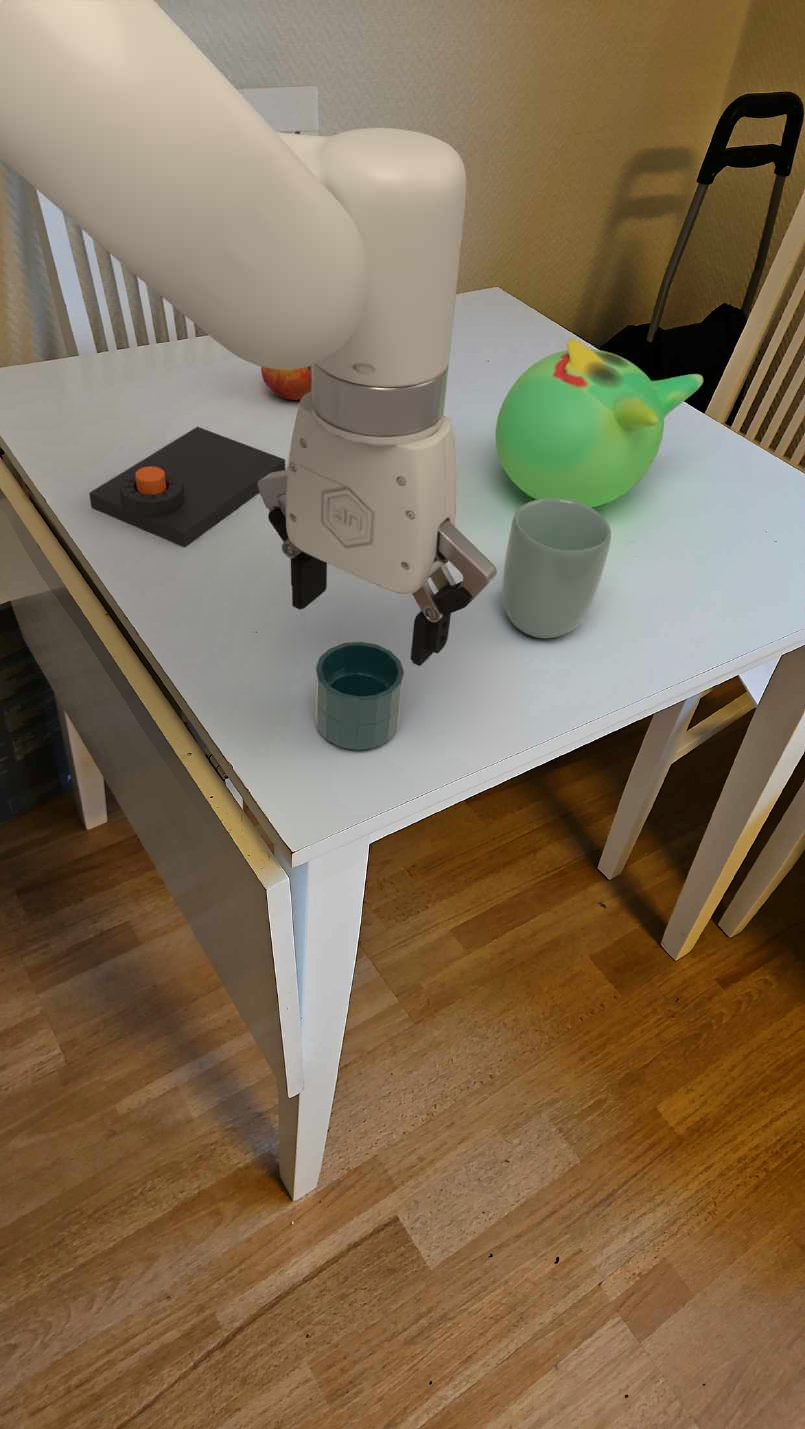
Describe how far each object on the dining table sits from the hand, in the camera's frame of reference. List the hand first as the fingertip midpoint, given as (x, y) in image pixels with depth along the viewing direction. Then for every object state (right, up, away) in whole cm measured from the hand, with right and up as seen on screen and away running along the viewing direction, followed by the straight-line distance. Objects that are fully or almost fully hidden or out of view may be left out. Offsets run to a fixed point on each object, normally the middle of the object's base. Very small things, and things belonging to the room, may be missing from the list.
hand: (366, 625), depth 65 cm
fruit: (-10, +30, +44) cm, 54 cm away
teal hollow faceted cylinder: (-1, -7, +7) cm, 10 cm away
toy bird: (+20, +17, +33) cm, 42 cm away
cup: (+14, +2, +17) cm, 22 cm away
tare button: (-21, +15, +22) cm, 34 cm away
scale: (-18, +16, +28) cm, 37 cm away
